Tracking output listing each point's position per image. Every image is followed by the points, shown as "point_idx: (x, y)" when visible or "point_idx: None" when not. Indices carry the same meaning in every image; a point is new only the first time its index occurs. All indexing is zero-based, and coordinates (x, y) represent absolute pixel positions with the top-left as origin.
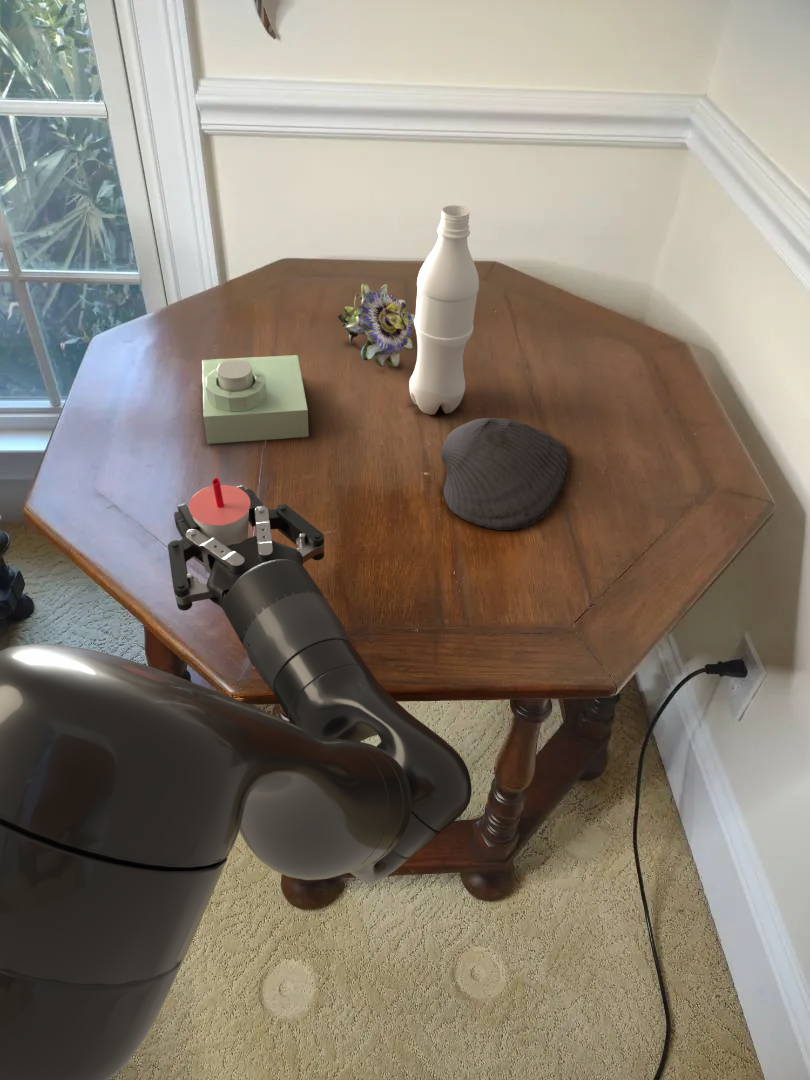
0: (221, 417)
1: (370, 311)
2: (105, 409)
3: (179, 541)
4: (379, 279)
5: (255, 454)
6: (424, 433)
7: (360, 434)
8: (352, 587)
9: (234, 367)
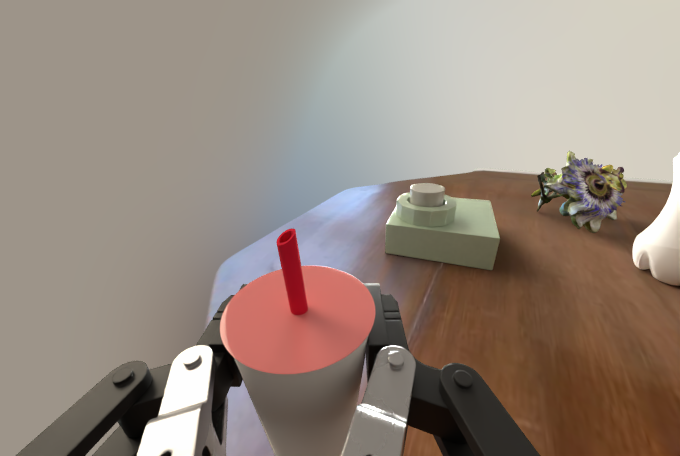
0: (402, 228)
1: (577, 173)
2: (324, 216)
3: (145, 370)
4: None
5: (427, 272)
6: (673, 306)
7: (562, 283)
8: None
9: (428, 187)
